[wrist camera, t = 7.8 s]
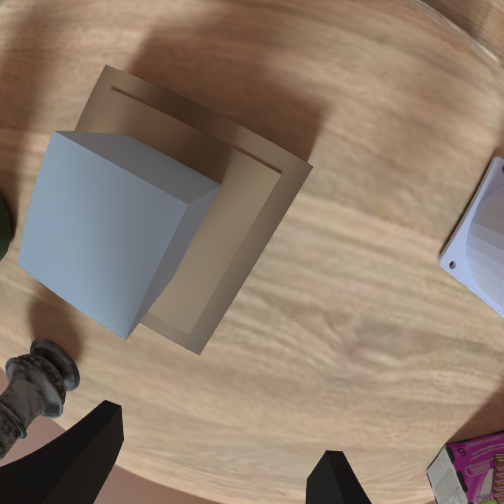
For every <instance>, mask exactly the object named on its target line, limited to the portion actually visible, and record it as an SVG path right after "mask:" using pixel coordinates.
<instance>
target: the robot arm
mask: <svg viewBox="0 0 504 504" xmlns="http://www.w3.org/2000/svg"><path fill="white" fill-rule="evenodd" d="M502 167H503V168H504V159H503V158H502V157H498V156H495V157H494V158H493V159H492V161H491V163H490V165H489V168H488V170H487V172H486V174H485V176H484V178H483V180H482V182H481V184H480V186H479V188H478V190H477V192H476V194H475V196H474V197H473V199H472V201H471V203H470V205H469V207H468V209H467V210H466V212H465V214H464V216H463V218H462V219H461V221H460V223H459V225H458V226H457V228H456V230H455V231H454V233H453V235H452V236H451V238H450V240H449V241H448V243H447V245H446V246H445V248H444V250H443V251H442V253H441V254H440V256H439V259H438V262H439V265H440V266H441V267H442V268H444V269H445V270H446V271H447V272H449V273H450V274H451V275H453V276H454V277H455V278H456V279H458V280H459V281H460V282H461V283H463V284H464V285H465V286H466V287H468V288H469V289H470V290H471V291H473V292H474V293H475V294H476V295H477V296H479V297H480V298H481V299H482V300H483V301H485V302H486V303H487V304H488V305H489V306H491V307H492V308H493V309H494V310H495V311H496V312H498V313H499V314H500V315H501V316H502V317H503V318H504V171H503V172H502ZM452 261H453V265H452V266H451V267H449V264H450V263H451V262H452ZM123 441H124V434H123V422H122V408H121V405H118V404H115V403H112V402H110V401H107V400H105V401H103V402H102V403H100V404H99V405H98V406H97V407H96V408H95V409H93V410H92V411H91V412H90V413H89V414H88V415H86V416H85V417H84V418H83V419H81V420H80V421H79V422H78V423H76V424H75V425H74V426H72V427H71V428H70V429H68V430H67V431H66V432H64V433H63V434H61V435H60V436H59V437H57V438H56V439H54V440H52V441H51V442H49V443H48V444H46V445H45V446H43V447H41V448H40V449H38V450H36V451H34V452H33V453H31V454H29V455H27V456H25V457H23V458H21V459H19V460H16V461H14V462H12V463H9V464H7V465H4V466H1V467H0V504H93V503H94V501H95V499H96V497H97V495H98V494H99V492H100V490H101V488H102V486H103V484H104V482H105V480H106V479H107V477H108V475H109V473H110V471H111V469H112V467H113V465H114V464H115V462H116V459H117V457H118V454H119V451H120V449H121V446H122V443H123ZM306 504H372V503H371V502H370V500H369V498H368V497H367V495H366V493H365V492H364V490H363V488H362V487H361V485H360V483H359V481H358V480H357V478H356V476H355V474H354V472H353V470H352V468H351V466H350V465H349V463H348V461H347V459H346V457H345V455H344V453H343V452H342V451H329V450H326V452H325V453H324V455H323V456H322V458H321V459H320V461H319V462H318V464H317V465H316V467H315V468H314V470H313V471H312V473H311V474H310V475H309V477H308V478H307V487H306Z"/></svg>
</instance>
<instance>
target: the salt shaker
mask: <svg viewBox="0 0 504 504" xmlns="http://www.w3.org/2000/svg"><path fill="white" fill-rule="evenodd" d="M5 370H6V376H7V378H8V381H9V385H8V387H7V389H6V390H5V391H4V392H3V394H2V395H1V396H0V460H2V459H3V458H4V457H5V456H6V454H7V453H8V451H9V450H10V449H11V447H12V446H13V445H14V443H15V442H16V440H17V439H18V438H22V439H23V438H26V436H27V433H26V429H27V428H28V427H29V425H30V424H31V423H32V421H33V420H34V419H35V418H36V417H37V416H39V415H42V416H45V417H47V418H58V417H60V416H61V414H62V413H63V404H64V403H65V397H66V391H72V390H74V389H76V388H77V386H78V385H79V381H80V378H79V372H78V370H77V368H76V365H75V364H74V362H73V361H72V359H71V358H70V357H69V355H68V354H67V353H66V352H65V351H64V350H63V349H62V348H61V347H59V346H58V345H56V344H55V343H53V342H51V341H49V340H47V339H37V340H35V341H34V342H33V343H32V345H31V347H30V354H26V355H22V356H18V357H17V358H16V357H15V358H10V359H9V360H8V361H7V362H6V366H5Z"/></svg>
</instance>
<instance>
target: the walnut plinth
mask: <svg viewBox="0 0 504 504" xmlns="http://www.w3.org/2000/svg"><path fill="white" fill-rule="evenodd" d="M75 131H77V132H95V133H110V134H123V135H128V136H130V137H132V138H134V139H136V140H138V141H140V142H142V143H144V144H146V145H148V146H150V147H152V148H154V149H156V150H157V151H159V152H161V153H163V154H165V155H167V156H169V157H171V158H173V159H175V160H176V161H178V162H180V163H182V164H184V165H186V166H188V167H189V168H191V169H193V170H195V171H197V172H199V173H201V174H202V175H204V176H206V177H208V178H210V179H212V180H213V181H215V182H217V183H219V184H221V187H220V189H219V191H218V193H217V195H216V196H215V198H214V200H213V202H212V204H211V206H210V207H209V209H208V211H207V213H206V215H205V217H204V219H203V221H202V223H201V224H200V226H199V228H198V230H197V232H196V234H195V236H194V238H193V240H192V242H191V244H190V246H189V248H188V249H187V251H186V253H185V255H184V257H183V259H182V261H181V263H180V265H179V267H178V269H177V271H176V273H175V275H174V277H173V279H172V280H171V282H170V283H169V284H168V286H167V287H166V288H165V289H164V291H163V292H162V293H161V295H160V296H159V297H158V299H157V300H156V301H155V302H154V304H153V305H152V306H151V308H150V309H149V310H148V312H147V313H146V314H145V316H144V317H143V318H142V320H141V321H140V323H141V324H143V325H145V326H146V327H148V328H150V329H152V330H153V331H155V332H157V333H159V334H161V335H162V336H164V337H166V338H168V339H170V340H171V341H173V342H175V343H177V344H179V345H181V346H182V347H184V348H186V349H188V350H190V351H192V352H194V353H196V354H198V355H200V354H201V352H202V351H203V349H204V347H205V346H206V344H207V342H208V341H209V339H210V337H211V336H212V334H213V333H214V331H215V329H216V328H217V326H218V324H219V323H220V321H221V319H222V318H223V316H224V314H225V313H226V311H227V310H228V308H229V306H230V305H231V303H232V301H233V300H234V298H235V296H236V295H237V293H238V291H239V290H240V288H241V286H242V285H243V283H244V282H245V280H246V278H247V277H248V275H249V273H250V272H251V270H252V268H253V267H254V265H255V263H256V262H257V260H258V258H259V257H260V255H261V253H262V252H263V250H264V248H265V247H266V245H267V243H268V242H269V240H270V238H271V237H272V235H273V233H274V232H275V230H276V228H277V227H278V225H279V223H280V222H281V220H282V218H283V217H284V215H285V213H286V212H287V210H288V208H289V207H290V205H291V203H292V202H293V200H294V198H295V197H296V195H297V193H298V192H299V190H300V188H301V187H302V185H303V183H304V182H305V180H306V178H307V177H308V175H309V173H310V172H311V170H312V168H313V166H312V165H310V164H308V163H307V162H305V161H303V160H302V159H300V158H298V157H297V156H295V155H293V154H291V153H290V152H288V151H286V150H284V149H283V148H281V147H279V146H277V145H276V144H274V143H272V142H270V141H268V140H267V139H265V138H263V137H261V136H259V135H258V134H256V133H254V132H252V131H250V130H248V129H246V128H244V127H243V126H241V125H239V124H237V123H235V122H233V121H231V120H229V119H227V118H225V117H223V116H221V115H219V114H217V113H215V112H213V111H211V110H209V109H207V108H205V107H203V106H201V105H199V104H197V103H195V102H192V101H190V100H188V99H186V98H184V97H182V96H179V95H177V94H175V93H173V92H171V91H168V90H166V89H164V88H162V87H159V86H157V85H155V84H152V83H150V82H148V81H145V80H143V79H140V78H138V77H136V76H133V75H131V74H128V73H126V72H123V71H121V70H118V69H115V68H113V67H110V66H108V65H105V67H104V69H103V71H102V73H101V75H100V77H99V79H98V81H97V83H96V85H95V87H94V89H93V91H92V93H91V95H90V97H89V99H88V101H87V103H86V105H85V108H84V110H83V112H82V114H81V117H80V119H79V121H78V124H77V126H76V128H75Z"/></svg>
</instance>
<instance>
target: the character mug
mask: <svg viewBox="0 0 504 504" xmlns="http://www.w3.org/2000/svg"><path fill="white" fill-rule="evenodd" d="M10 238H11V227H10V217H9V213H8V211H7V208H6V206H5V204H4V201H3V199H2V197H1V196H0V261H1V259H2V258H3V257H4V255H5V254H6V253H7V251H8V247H9V242H10Z"/></svg>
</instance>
